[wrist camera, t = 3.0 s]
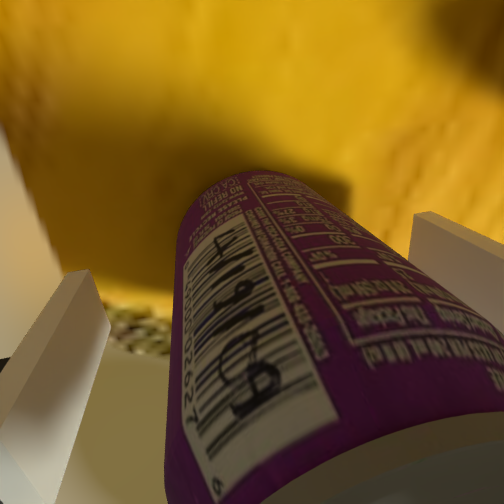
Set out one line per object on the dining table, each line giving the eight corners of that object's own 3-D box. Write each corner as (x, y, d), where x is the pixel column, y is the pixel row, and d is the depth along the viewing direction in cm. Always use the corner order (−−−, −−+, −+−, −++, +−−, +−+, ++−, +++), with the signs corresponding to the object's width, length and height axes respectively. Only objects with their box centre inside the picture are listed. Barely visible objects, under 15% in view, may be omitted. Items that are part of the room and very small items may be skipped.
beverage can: (180, 310, 16) (170, 728, 5) (172, 165, 13) (115, 472, 2) (315, 301, 17) (518, 623, 7) (336, 167, 14) (763, 373, 4)
